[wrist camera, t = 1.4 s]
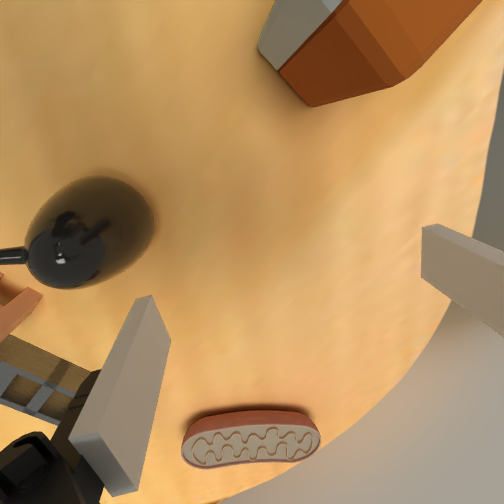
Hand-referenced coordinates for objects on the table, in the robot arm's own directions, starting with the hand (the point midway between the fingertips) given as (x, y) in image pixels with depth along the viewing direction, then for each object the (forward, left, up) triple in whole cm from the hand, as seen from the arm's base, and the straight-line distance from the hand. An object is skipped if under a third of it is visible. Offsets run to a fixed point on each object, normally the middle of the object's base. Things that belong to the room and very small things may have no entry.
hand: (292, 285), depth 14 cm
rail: (-5, -39, -24) cm, 46 cm away
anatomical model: (+26, -30, -24) cm, 47 cm away
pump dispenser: (-11, -12, -24) cm, 29 cm away
